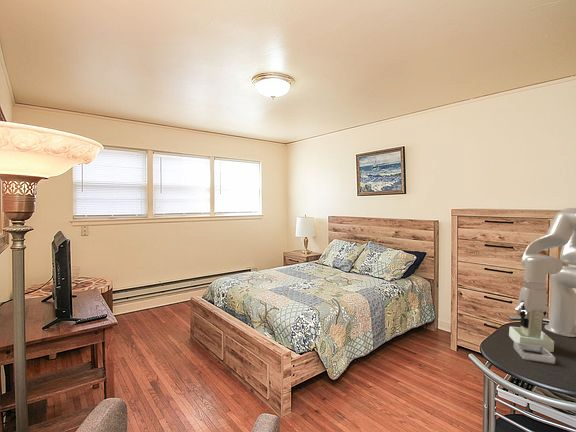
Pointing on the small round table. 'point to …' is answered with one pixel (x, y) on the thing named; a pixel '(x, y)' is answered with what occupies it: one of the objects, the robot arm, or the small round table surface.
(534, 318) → the skincare box
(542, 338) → the sage bin
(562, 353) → the small round table surface
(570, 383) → the small round table surface
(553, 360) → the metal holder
